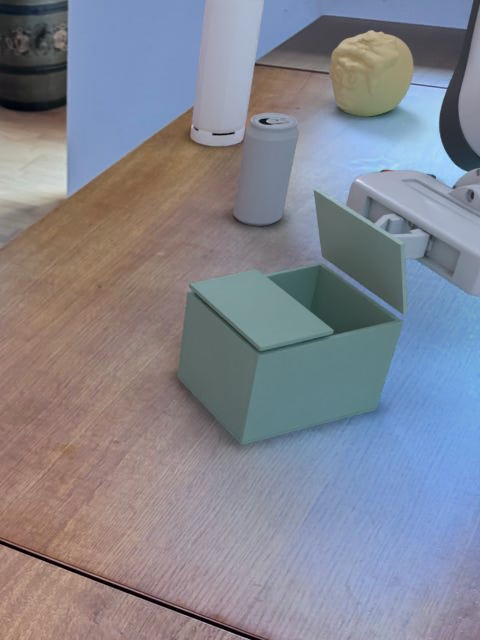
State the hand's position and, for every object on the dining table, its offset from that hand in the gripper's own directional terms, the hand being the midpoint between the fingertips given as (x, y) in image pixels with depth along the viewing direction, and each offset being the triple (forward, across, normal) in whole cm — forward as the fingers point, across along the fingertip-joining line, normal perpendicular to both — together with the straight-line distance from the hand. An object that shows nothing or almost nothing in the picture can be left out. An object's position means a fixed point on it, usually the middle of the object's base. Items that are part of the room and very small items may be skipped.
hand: (364, 244), depth 83 cm
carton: (+6, 0, +14) cm, 16 cm away
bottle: (-24, -65, +14) cm, 70 cm away
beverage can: (-14, -37, +14) cm, 42 cm away
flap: (+1, 0, +1) cm, 1 cm away
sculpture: (-50, -65, +14) cm, 84 cm away
